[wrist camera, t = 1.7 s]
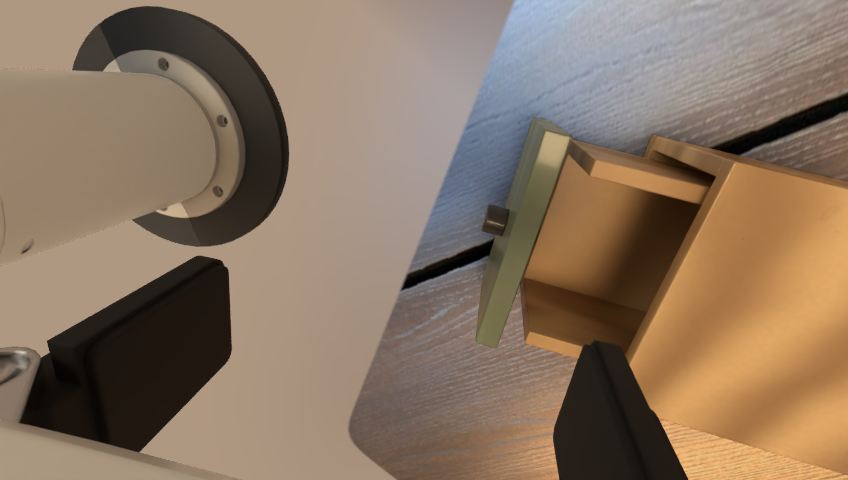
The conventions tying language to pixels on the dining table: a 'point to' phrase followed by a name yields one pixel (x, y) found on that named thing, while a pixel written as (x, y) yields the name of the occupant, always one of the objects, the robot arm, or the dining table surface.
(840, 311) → the cabinet
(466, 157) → the dining table surface
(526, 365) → the dining table surface
